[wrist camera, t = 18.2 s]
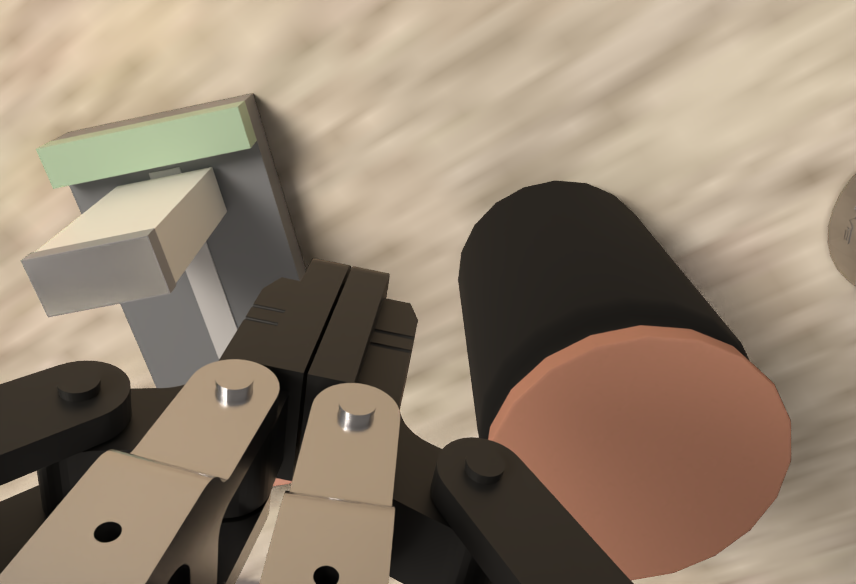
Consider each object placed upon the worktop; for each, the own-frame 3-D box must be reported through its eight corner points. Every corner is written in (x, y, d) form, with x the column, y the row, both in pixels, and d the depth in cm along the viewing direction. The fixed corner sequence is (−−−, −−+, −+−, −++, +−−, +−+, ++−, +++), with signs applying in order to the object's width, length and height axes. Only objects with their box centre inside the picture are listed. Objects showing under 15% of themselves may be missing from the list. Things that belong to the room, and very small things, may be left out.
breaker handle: (115, 185, 36) (20, 260, 28) (212, 165, 36) (147, 235, 27) (134, 231, 37) (48, 317, 29) (228, 212, 37) (170, 293, 28)
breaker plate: (67, 132, 37) (35, 149, 34) (253, 93, 37) (237, 106, 34) (206, 462, 47) (191, 500, 44) (355, 436, 46) (351, 472, 43)
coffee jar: (493, 368, 44) (538, 613, 28) (429, 215, 40) (438, 400, 23) (663, 309, 42) (817, 533, 26) (615, 143, 38) (764, 289, 22)
